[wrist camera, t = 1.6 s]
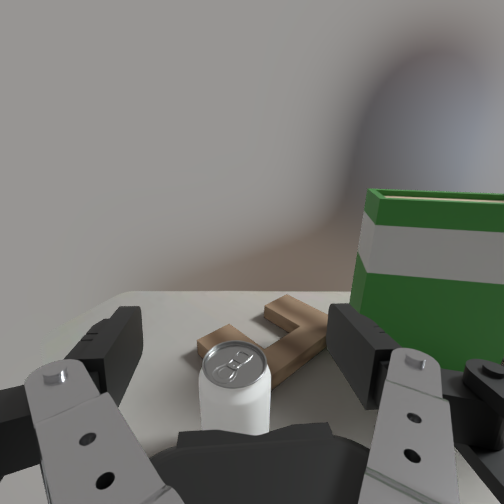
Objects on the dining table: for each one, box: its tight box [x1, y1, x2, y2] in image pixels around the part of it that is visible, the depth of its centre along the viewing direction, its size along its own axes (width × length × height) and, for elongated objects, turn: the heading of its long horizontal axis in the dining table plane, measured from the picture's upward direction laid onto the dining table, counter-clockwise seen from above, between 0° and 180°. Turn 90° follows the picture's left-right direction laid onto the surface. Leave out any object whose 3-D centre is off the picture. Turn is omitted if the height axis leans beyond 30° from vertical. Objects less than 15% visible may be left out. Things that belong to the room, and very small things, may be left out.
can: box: [198, 340, 271, 435], centre depth 27 cm, size 6×6×12 cm
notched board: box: [197, 294, 328, 390], centre depth 44 cm, size 20×12×2 cm, turn 133°
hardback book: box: [349, 189, 504, 372], centre depth 37 cm, size 18×7×24 cm, turn 79°
